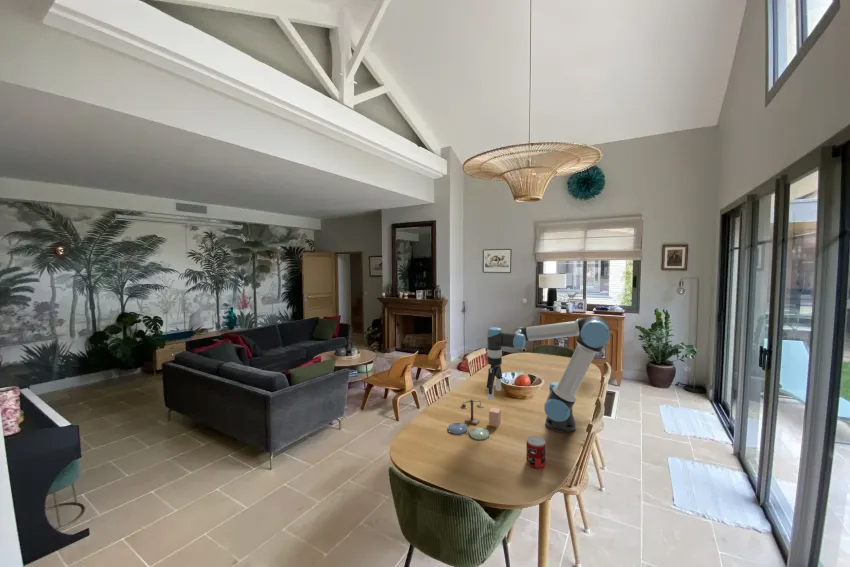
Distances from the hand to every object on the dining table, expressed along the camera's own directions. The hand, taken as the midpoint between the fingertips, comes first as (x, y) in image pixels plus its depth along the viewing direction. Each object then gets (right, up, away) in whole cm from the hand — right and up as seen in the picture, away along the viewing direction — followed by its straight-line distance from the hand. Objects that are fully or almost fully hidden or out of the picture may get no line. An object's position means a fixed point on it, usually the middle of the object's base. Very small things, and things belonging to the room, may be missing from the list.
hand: (494, 394), depth 191 cm
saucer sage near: (-10, -18, -9) cm, 22 cm away
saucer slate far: (-20, -18, -3) cm, 27 cm away
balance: (-12, -17, +5) cm, 21 cm away
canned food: (+11, -20, -35) cm, 41 cm away
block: (0, -17, +2) cm, 17 cm away
